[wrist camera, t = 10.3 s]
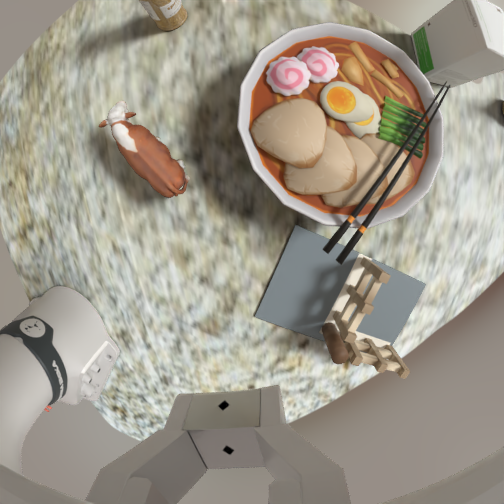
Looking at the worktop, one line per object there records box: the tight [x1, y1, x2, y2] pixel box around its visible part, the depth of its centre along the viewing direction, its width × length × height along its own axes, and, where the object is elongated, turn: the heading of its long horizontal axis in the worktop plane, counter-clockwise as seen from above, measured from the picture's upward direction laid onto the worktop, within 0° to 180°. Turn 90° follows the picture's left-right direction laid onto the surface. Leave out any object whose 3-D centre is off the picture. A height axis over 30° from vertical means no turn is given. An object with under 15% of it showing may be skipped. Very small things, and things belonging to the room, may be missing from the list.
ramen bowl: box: [237, 22, 450, 265], centre depth 29 cm, size 25×23×8 cm
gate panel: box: [333, 257, 391, 344], centre depth 33 cm, size 9×1×6 cm, turn 157°
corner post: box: [322, 322, 349, 364], centre depth 35 cm, size 2×2×8 cm
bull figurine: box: [99, 101, 190, 198], centre depth 30 cm, size 4×13×8 cm, turn 37°
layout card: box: [255, 225, 426, 353], centre depth 38 cm, size 13×21×1 cm, turn 68°
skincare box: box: [411, 0, 504, 87], centre depth 22 cm, size 8×7×16 cm
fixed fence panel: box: [340, 334, 410, 378], centre depth 35 cm, size 9×1×7 cm, turn 68°
